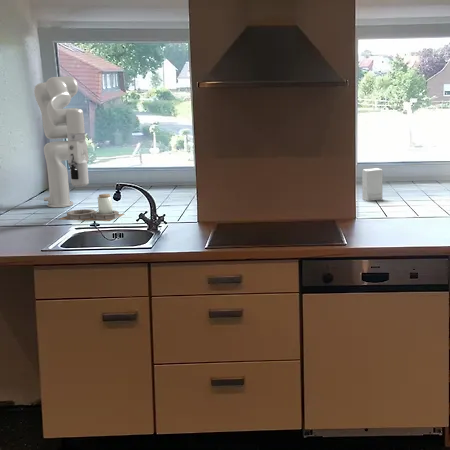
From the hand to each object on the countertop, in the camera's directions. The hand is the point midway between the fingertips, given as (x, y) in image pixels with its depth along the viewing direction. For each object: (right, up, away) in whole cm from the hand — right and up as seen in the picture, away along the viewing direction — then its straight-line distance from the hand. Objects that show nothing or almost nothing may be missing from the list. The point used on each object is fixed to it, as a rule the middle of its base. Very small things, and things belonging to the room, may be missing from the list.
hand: (79, 177), depth 293 cm
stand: (+5, -18, +1) cm, 19 cm away
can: (0, -4, +1) cm, 4 cm away
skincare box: (+135, -9, +28) cm, 138 cm away
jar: (+12, -17, -1) cm, 21 cm away
